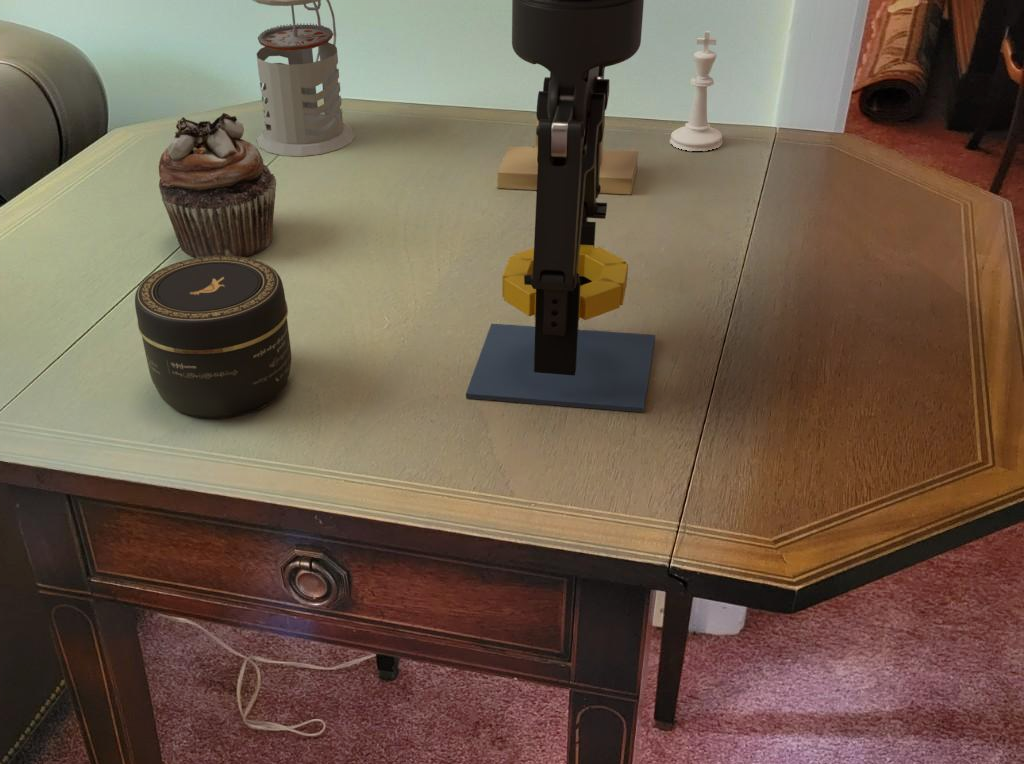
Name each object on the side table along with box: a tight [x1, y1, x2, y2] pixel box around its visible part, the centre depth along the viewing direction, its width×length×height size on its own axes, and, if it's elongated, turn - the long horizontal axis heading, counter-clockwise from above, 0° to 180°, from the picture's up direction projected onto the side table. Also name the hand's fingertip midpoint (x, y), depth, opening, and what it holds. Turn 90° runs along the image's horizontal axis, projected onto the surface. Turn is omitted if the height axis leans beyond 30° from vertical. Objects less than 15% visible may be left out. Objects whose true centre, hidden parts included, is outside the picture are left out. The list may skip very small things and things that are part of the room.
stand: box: [496, 119, 639, 195], centre depth 107 cm, size 12×6×12 cm, turn 78°
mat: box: [465, 323, 656, 413], centre depth 85 cm, size 12×10×1 cm
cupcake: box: [158, 112, 277, 258], centre depth 100 cm, size 10×10×10 cm
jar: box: [134, 256, 292, 419], centre depth 83 cm, size 10×10×8 cm
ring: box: [501, 244, 629, 322], centre depth 81 cm, size 8×8×2 cm
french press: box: [252, 0, 356, 157], centre depth 114 cm, size 10×12×25 cm
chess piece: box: [669, 30, 723, 152], centre depth 113 cm, size 5×5×10 cm
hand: (563, 339), depth 84 cm, fingers closed on ring, 8 cm apart
